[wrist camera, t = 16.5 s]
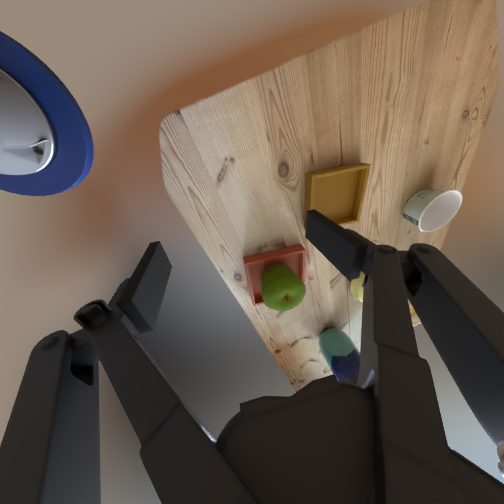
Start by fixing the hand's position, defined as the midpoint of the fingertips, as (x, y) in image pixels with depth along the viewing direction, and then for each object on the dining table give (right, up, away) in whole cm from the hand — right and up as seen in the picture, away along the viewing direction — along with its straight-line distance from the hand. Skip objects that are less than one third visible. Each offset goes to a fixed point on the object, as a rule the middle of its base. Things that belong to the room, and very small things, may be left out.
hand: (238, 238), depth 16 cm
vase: (+37, -39, +67) cm, 86 cm away
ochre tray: (+22, +13, +31) cm, 40 cm away
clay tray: (+8, -8, +41) cm, 42 cm away
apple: (+8, -8, +40) cm, 42 cm away
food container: (+51, +13, +38) cm, 65 cm away
